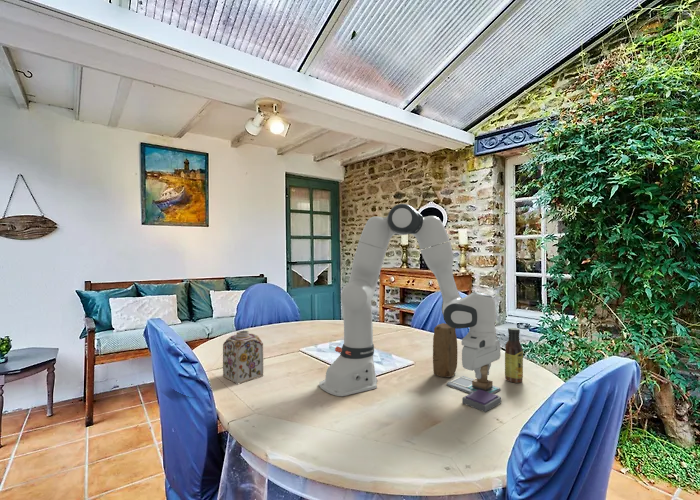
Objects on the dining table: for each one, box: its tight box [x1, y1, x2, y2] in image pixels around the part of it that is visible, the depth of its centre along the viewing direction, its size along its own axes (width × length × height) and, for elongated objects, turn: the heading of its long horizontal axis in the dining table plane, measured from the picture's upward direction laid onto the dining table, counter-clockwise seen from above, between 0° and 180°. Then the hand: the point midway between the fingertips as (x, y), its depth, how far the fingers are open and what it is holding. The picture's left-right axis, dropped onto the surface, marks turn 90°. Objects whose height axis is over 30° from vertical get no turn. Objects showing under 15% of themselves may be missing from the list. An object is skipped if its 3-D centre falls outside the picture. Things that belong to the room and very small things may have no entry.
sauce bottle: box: [504, 327, 524, 384], centre depth 132 cm, size 6×6×20 cm
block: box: [432, 322, 458, 378], centre depth 139 cm, size 11×8×20 cm
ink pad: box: [462, 389, 502, 413], centre depth 114 cm, size 10×8×2 cm
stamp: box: [472, 365, 494, 391], centre depth 123 cm, size 5×5×8 cm
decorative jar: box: [222, 330, 264, 385], centre depth 137 cm, size 12×12×18 cm
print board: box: [446, 375, 501, 394], centre depth 126 cm, size 11×15×1 cm
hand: (482, 376), depth 123 cm, fingers closed on stamp, 3 cm apart
